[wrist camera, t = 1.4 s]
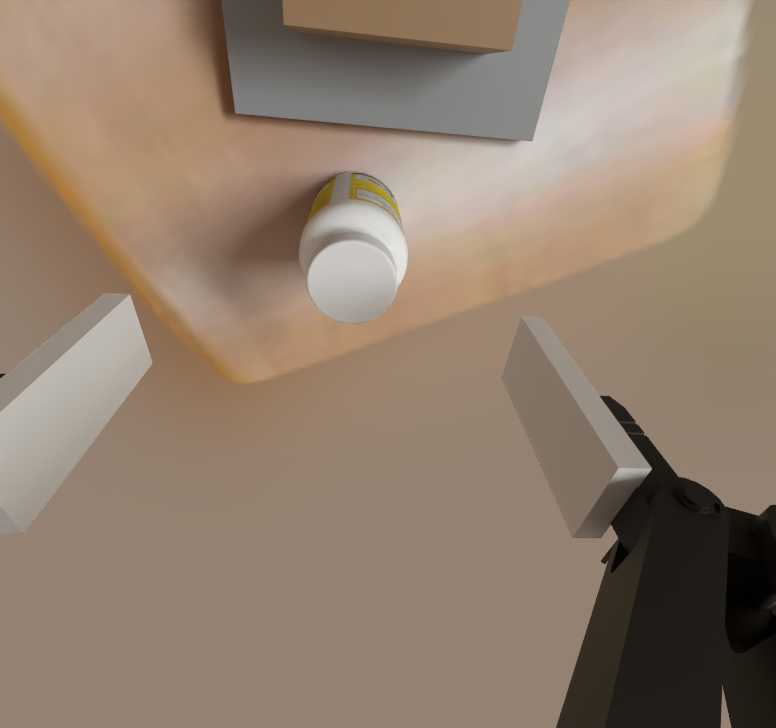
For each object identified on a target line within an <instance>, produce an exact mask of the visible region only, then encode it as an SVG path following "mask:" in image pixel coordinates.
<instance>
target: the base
mask: <svg viewBox="0 0 776 728" xmlns="http://www.w3.org/2000/svg"><path fill="white" fill-rule="evenodd" d="M569 2H570V0H221V3H222V11H223V19H224V27H225V35H226V43H227V51H228V59H229V67H230V75H231V83H232V91H233V99H234V107H235V113H236V114H247V115H257V116H268V117H278V118H289V119H300V120H310V121H321V122H331V123H342V124H353V125H363V126H374V127H385V128H395V129H406V130H416V131H427V132H438V133H448V134H459V135H469V136H480V137H491V138H501V139H512V140H523V141H532V140H533V136H534V133H535V129H536V125H537V121H538V118H539V114H540V110H541V106H542V103H543V99H544V95H545V91H546V88H547V84H548V80H549V76H550V73H551V69H552V65H553V62H554V58H555V54H556V50H557V47H558V43H559V39H560V35H561V32H562V28H563V24H564V20H565V17H566V13H567V9H568V5H569Z"/></svg>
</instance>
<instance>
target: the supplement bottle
mask: <svg viewBox="0 0 776 728" xmlns="http://www.w3.org/2000/svg"><path fill="white" fill-rule="evenodd" d="M299 261H300V266H301V269H302V272H303V274H304V276H305V278H306V283H307V290H308V293H309V296H310V298H311V300H312V302H313V303H314V305H315V306H316V307H317V308H318V309H319V310H320V311H321V312H322V313H323V314H324V315H326V316H328V317H329V318H331V319H333V320H335V321H338V322H342V323H348V324H359V323H364V322H368V321H371V320H373V319H375V318H377V317H379V316H380V315H382V314H383V313H384V312H385V311H386V310H387V309H388V308H389V307H390V305H391V304H392V302H393V300H394V298H395V295H396V292H397V287H398V286H399V284H400V283H401V281H402V279H403V277H404V275H405V271H406V268H407V262H408V252H407V244H406V239H405V235H404V231H403V227H402V222H401V218H400V214H399V210H398V207H397V203H396V201H395V199H394V196H393V195H392V193H391V191H390V190H389V189H388V187H387V186H386V185H385V184H384V183H383V182H382V181H380V180H379V179H377V178H376V177H374V176H372V175H369V174H367V173H363V172H345V173H341V174H339V175H336V176H335V177H333V178H331V179H330V180H328V181H327V182H326V183H325V184H324V185H323V186H322V188H321V189H320V190H319V192H318V194H317V196H316V197H315V200H314V202H313V205H312V208H311V211H310V213H309V216H308V219H307V221H306V224H305V227H304V229H303V232H302V235H301V239H300V245H299Z"/></svg>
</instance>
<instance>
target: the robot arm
mask: <svg viewBox="0 0 776 728" xmlns="http://www.w3.org/2000/svg"><path fill="white" fill-rule="evenodd" d="M151 364H152V360H151V357H150V354H149V351H148V348H147V345H146V342H145V339H144V336H143V333H142V330H141V327H140V324H139V321H138V317H137V314H136V312H135V308H134V305H133V302H132V300H131V296H130V294H115V293H104V294H103V295H102V296H101V297H99V298H98V299H97V300H96V301H95V302H93V303H92V304H91V305H90V306H88V307H87V308H86V309H85V310H83V311H82V312H81V313H80V314H79V315H77V316H76V317H75V318H74V319H73V320H71V321H70V322H69V323H68V324H66V325H65V326H64V327H63V328H61V329H60V330H59V331H58V332H57V333H55V334H54V335H53V336H52V337H50V338H49V339H48V340H47V341H46V342H44V343H43V344H42V345H41V346H39V347H38V348H37V349H36V350H35V351H33V352H32V353H31V354H30V355H28V356H27V357H26V358H25V359H24V360H23V361H21V362H20V363H19V364H17V365H16V366H15V367H14V368H13V369H11V370H10V371H9V372H8V373H6V374H0V533H10V534H12V533H14V534H16V533H17V534H19V533H20V534H23V533H25V531H26V530H27V529H28V527H29V526H30V525H31V523H32V522H33V521H34V519H35V518H36V517H37V515H38V514H39V513H40V511H41V510H42V509H43V508H44V506H45V504H46V503H47V502H48V501H49V500H50V498H51V497H52V496H53V494H54V493H55V492H56V490H57V489H58V487H59V486H60V485H61V484H62V482H63V481H64V479H65V478H66V477H67V476H68V474H69V473H70V472H71V470H72V469H73V468H74V466H75V465H76V464H77V462H78V461H79V460H80V458H81V457H82V456H83V455H84V453H85V452H86V450H87V449H88V448H89V447H90V445H91V444H92V443H93V441H94V440H95V439H96V437H97V436H98V435H99V433H100V432H101V431H102V429H103V428H104V427H105V425H106V424H107V423H108V421H109V420H110V419H111V417H112V416H113V415H114V413H115V412H116V411H117V409H118V408H119V407H120V405H121V404H122V403H123V401H124V400H125V399H126V398H127V396H128V395H129V394H130V392H131V391H132V390H133V388H134V387H135V385H136V384H137V383H138V382H139V380H140V379H141V377H142V376H143V375H144V374H145V372H146V371H147V370H148V368H149V367H150V366H151ZM502 380H503V382H504V384H505V387H506V389H507V391H508V393H509V396H510V398H511V400H512V403H513V405H514V407H515V409H516V411H517V414H518V416H519V418H520V421H521V423H522V425H523V427H524V430H525V432H526V434H527V436H528V439H529V441H530V443H531V445H532V447H533V450H534V452H535V454H536V457H537V459H538V461H539V463H540V466H541V468H542V470H543V472H544V475H545V477H546V479H547V481H548V483H549V486H550V488H551V490H552V493H553V495H554V497H555V499H556V502H557V504H558V506H559V508H560V510H561V513H562V515H563V518H564V520H565V522H566V524H567V527H568V529H569V531H570V533H571V535H572V538H601V537H602V536H603V535H604V533H605V532H606V531H607V529H608V528H609V526H610V525H612V527H613V529H614V531H615V532H616V534H617V536H618V540H617V541H616V542H615V543H614V545H613V546H612V547H611V548H610V550H609V551H608V552H607V553H606V555H605V556H604V557H603V559H602V560H601V562H602V563H604V564H606V562H607V561H608V563H607V567H606V570H605V573H604V576H603V579H602V582H601V586H600V589H599V592H598V595H597V598H596V602H595V605H594V608H593V611H592V615H591V618H590V621H589V624H588V628H587V630H586V634H585V637H584V640H583V643H582V647H581V650H580V653H579V656H578V660H577V663H576V666H575V669H574V672H573V675H572V679H571V682H570V685H569V688H568V691H567V695H566V698H565V701H564V704H563V707H562V711H561V714H560V717H559V720H558V723H557V727H556V728H720V726H721V704H722V703H721V702H722V685H723V690H724V694H725V699H726V703H727V708H728V713H729V718H730V722H731V727H732V728H776V505H770V506H769V507H768V508H767V509H766V510H765V511H764V512H763V513H762V514H760V515H759V516H757V515H754V514H750V513H747V512H743V511H739V510H736V509H732V508H729V507H725V506H724V504H723V503H722V502H721V500H720V499H719V498H718V497H717V496H716V495H714V494H713V493H712V492H711V491H710V490H708V489H707V488H705V487H704V486H702V485H700V484H699V483H697V482H694V481H691V480H689V479H686V478H682V477H678V476H677V474H676V473H675V472H674V471H673V469H672V468H671V467H670V465H669V464H668V463H667V461H666V460H665V459H664V458H663V456H662V455H661V454H660V453H659V451H658V450H657V449H656V447H655V446H654V445H653V444H652V442H651V441H650V440H649V438H648V437H647V436H644V432H643V431H642V429H641V428H640V427H639V426H638V425H637V424H636V422H635V420H634V419H633V418H632V416H631V415H630V414H629V413H628V411H627V410H626V409H625V408H624V407H623V406H622V405H620V404H619V403H618V402H616V401H615V400H614V399H612V398H611V397H610V396H599V395H598V393H597V392H596V391H595V389H594V388H593V386H592V385H591V384H590V382H589V381H588V380H587V378H586V377H585V375H584V374H583V373H582V371H581V370H580V369H579V367H578V366H577V364H576V363H575V362H574V360H573V359H572V358H571V356H570V355H569V353H568V352H567V351H566V349H565V348H564V346H563V345H562V344H561V342H560V341H559V340H558V338H557V337H556V335H555V334H554V333H553V331H552V330H551V329H550V327H549V326H548V324H547V323H546V322H545V320H544V319H543V318H542V317H525V316H522V317H521V319H520V322H519V325H518V328H517V332H516V335H515V338H514V341H513V344H512V347H511V350H510V353H509V356H508V360H507V363H506V365H505V369H504V372H503V375H502Z"/></svg>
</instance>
